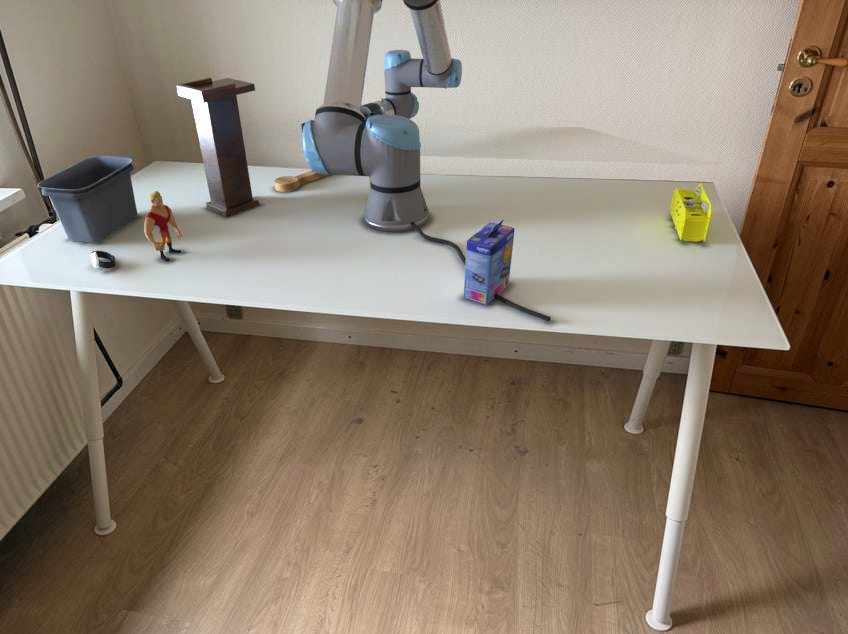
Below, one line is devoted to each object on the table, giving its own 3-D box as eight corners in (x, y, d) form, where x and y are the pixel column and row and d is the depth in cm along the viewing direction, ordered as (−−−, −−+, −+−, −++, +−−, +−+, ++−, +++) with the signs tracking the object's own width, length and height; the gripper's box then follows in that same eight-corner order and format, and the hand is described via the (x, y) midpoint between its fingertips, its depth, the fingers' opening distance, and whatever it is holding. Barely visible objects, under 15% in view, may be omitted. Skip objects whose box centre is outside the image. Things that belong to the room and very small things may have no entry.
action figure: (163, 266, 146) (147, 199, 138) (150, 264, 148) (132, 197, 139) (189, 248, 154) (175, 183, 145) (176, 246, 155) (161, 182, 146)
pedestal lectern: (246, 193, 181) (227, 73, 164) (271, 202, 174) (253, 79, 158) (201, 208, 173) (175, 84, 156) (225, 219, 167) (201, 91, 150)
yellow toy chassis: (706, 245, 144) (715, 207, 139) (678, 243, 145) (686, 206, 140) (694, 215, 157) (702, 180, 152) (667, 214, 158) (675, 179, 153)
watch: (87, 263, 150) (83, 247, 147) (108, 256, 152) (104, 241, 150) (101, 274, 145) (96, 258, 142) (122, 267, 147) (117, 252, 145)
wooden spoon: (331, 167, 196) (331, 159, 194) (346, 171, 192) (346, 164, 190) (270, 188, 183) (269, 180, 182) (285, 194, 179) (283, 185, 178)
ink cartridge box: (488, 306, 126) (492, 234, 118) (462, 299, 129) (464, 228, 121) (511, 284, 133) (516, 214, 125) (486, 278, 136) (489, 209, 128)
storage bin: (98, 250, 155) (80, 189, 147) (43, 243, 159) (22, 184, 151) (153, 214, 171) (139, 158, 163) (102, 209, 176) (85, 154, 168)
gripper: (344, 96, 201) (288, 111, 189) (406, 109, 186) (348, 127, 174) (346, 122, 205) (291, 139, 193) (406, 136, 190) (350, 156, 178)
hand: (318, 133), depth 183 cm, fingers open, 13 cm apart
